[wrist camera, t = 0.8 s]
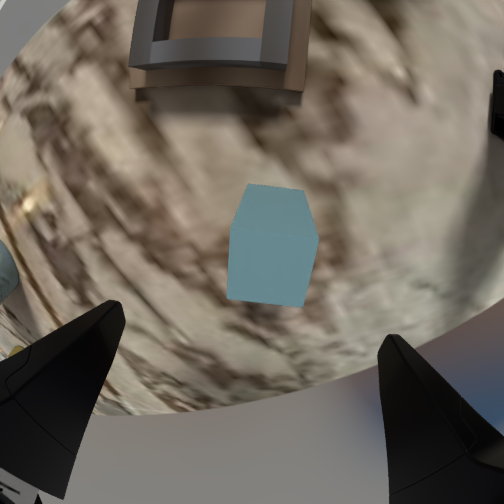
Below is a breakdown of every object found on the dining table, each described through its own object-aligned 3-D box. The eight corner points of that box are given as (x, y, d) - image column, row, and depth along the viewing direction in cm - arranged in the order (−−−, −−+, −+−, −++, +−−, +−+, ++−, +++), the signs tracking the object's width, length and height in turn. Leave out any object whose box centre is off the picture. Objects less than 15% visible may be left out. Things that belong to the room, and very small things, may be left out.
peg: (303, 190, 19) (319, 239, 12) (295, 240, 21) (302, 307, 14) (248, 183, 19) (230, 228, 12) (243, 233, 21) (226, 298, 14)
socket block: (312, -40, 10) (318, -62, 7) (302, 92, 16) (307, 87, 13) (155, -35, 10) (137, -52, 7) (135, 89, 16) (110, 87, 13)
